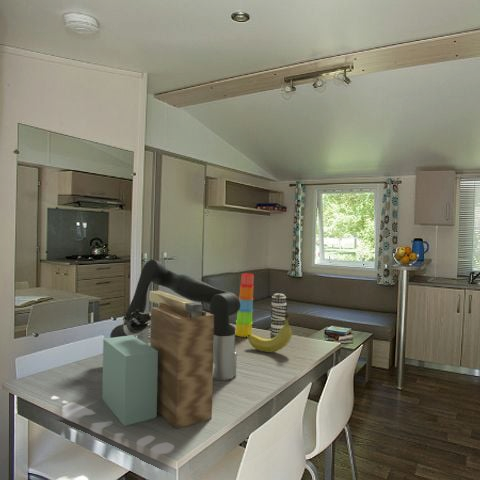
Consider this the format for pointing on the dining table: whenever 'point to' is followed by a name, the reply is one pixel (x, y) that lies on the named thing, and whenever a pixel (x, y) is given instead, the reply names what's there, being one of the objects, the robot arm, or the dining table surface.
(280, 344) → the banana
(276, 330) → the decorative candle
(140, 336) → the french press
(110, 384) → the pale teal block
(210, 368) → the tall wooden block
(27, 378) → the dining table surface
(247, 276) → the stacking cups
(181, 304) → the pale wooden beam
